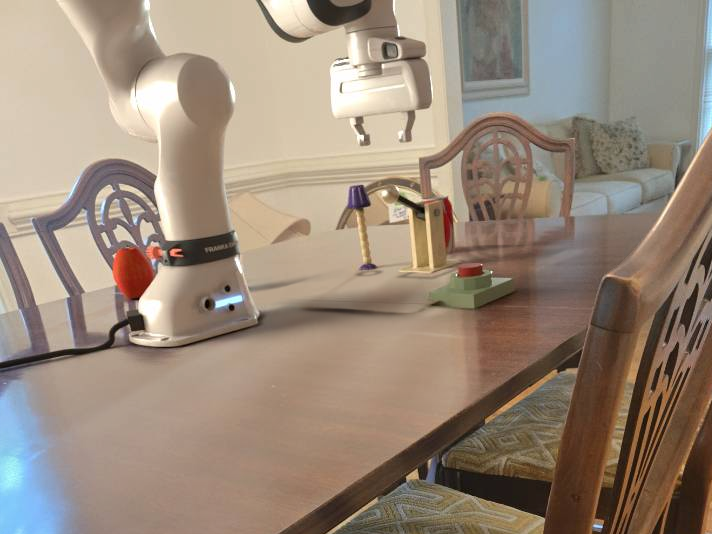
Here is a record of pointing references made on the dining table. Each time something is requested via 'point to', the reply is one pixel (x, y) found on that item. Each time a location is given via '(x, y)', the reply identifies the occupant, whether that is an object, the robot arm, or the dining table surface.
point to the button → (470, 270)
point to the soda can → (445, 220)
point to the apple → (132, 272)
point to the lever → (402, 200)
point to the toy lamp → (361, 221)
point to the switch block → (471, 290)
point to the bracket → (428, 240)
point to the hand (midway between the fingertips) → (384, 144)
